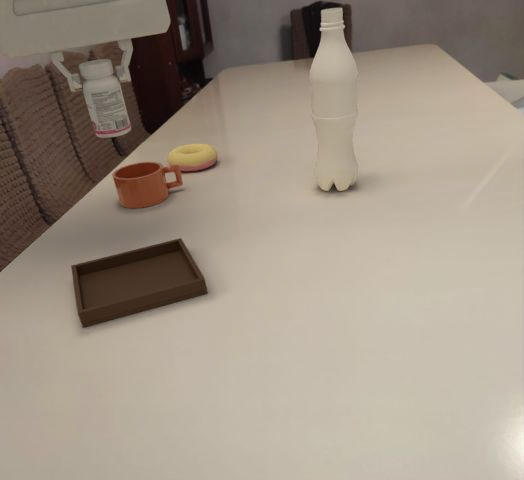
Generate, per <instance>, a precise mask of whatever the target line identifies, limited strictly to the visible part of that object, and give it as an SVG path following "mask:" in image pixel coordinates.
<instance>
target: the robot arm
mask: <svg viewBox="0 0 524 480" xmlns="http://www.w3.org/2000/svg"><path fill="white" fill-rule="evenodd" d="M170 25H171V16H170V12H169V7H168V4H167V0H0V53H1V54H2V55H4V56H5V57H6V58H7V59H10V60H13V59H18V58H24V57H30V56H31V57H32V56H35V55H42V54H47V53H49V55H50V58H51V62H52V64H53V65H54V66H55V67H56V68H57V69H58V71H59V72H60V73H62V75H63V76H64V77H65V78H66V80H67V83H68V87H69V90H70V92H71V93H76V92H80V91H83V88H82V83H81V78H80V75H79V73H78V72H77V73H75V72H74V73H71V72H70V71H69V70H68V69H67V68H66V66H65V65H64V64H63V63H62V62H64V61H65V58H64V54H63V51H65V50H71V49H77V48H83V47H89V46H95V45H100V44H101V45H102V44H107V43H112V42H117V44H118V48H119V49H120V50H121V51H122V52H123V53H122V57H121V62H120V64H119V65H115V66H114V69H115V73H116V74H117V75H116V77H117V78H118V79H119V82H120V84H123V83H129V82H132V78H131V73H130V68H129V66H130V63H131V59H132V55H133V52H134V47H133V42H132V39H135V38H142V37H147V36H153V35H158V34H159V35H160V34H165V33H167V31H168V30H169V28H170Z"/></svg>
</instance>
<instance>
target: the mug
mask: <svg viewBox="0 0 524 480" xmlns="http://www.w3.org/2000/svg"><path fill="white" fill-rule="evenodd" d="M173 172H174V175H175V180H173V181H169V182H167V178H166V174H168V173H173ZM181 172H182V171H180V167H179V165H172V166H170V165H168V166H163V164H162V163H160V162H157V161H140V162H135V163H130V164H127V165H124V166H121V167H119V168H118V169H116V170H114V172H113V173H112V174H111V175H112V180H113V183H114V186H115V190H116V194H117V197H118V200H119V203H120V205H121V206H122V207H124V208H127V209H141V208H148V207H152V206H156V205H158V204H160V203H162V202H164V201H166V200H167V199H168V198H169V195H170V194H169V189H170V190H171V189H174V188H178V187H182V186H183V184H184V182H183V178H182V173H181Z"/></svg>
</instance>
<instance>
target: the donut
mask: <svg viewBox="0 0 524 480" xmlns="http://www.w3.org/2000/svg"><path fill="white" fill-rule="evenodd" d="M217 160H218V152H217V150H216V148H215V147H214V146H212V145H210V144H208V143H189V144H184V145H180V146H177V147H174V148H172V149H171V150H170V152H169V153H168V155H167V163H168V166H172V165H179V167H180V172H196V171H197V172H198V171H202V170H205V169H207V168H209V167H212V166H214V165H215V163H217Z"/></svg>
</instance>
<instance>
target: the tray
mask: <svg viewBox="0 0 524 480" xmlns="http://www.w3.org/2000/svg"><path fill="white" fill-rule="evenodd" d="M71 273H72V281H73V288H74V296H75V305H76V310H77V316H78V318H79V320H80V323H81V325H82V328H87V327H91V326H93V325H97V324H100V323H104V322H108V321H112V320H115V319H119V318H123V317H126V316H130V315H133V314H136V313H141V312H144V311H145V312H146V311H148V310H151V309H155V308H159V307H162V306H166V305H169V304H173V303H177V302H180V301H184V300H187V299H188V300H189V299H191V298H192V299H193V298H195V297H198V296H199V297H200V296H203V295H207V294H208V288H207V283H206V279H205V277H204V275H203V273H202V271H201V270H200V268H199V266H198V265H197V262H196V261H195V259H194V257H193V256H192V254H191V253H190V251H189V249H188V247H187V245H186V244H185V242H184V240H183V239H182V238H181V237H180V238H179V237H178V238H176V239H172V240H167V241H163V242H159V243H156V244H150V245H148V246H144V247H139V248H135V249H132V250H128V251H124V252H120V253H116V254H112V255H108V256H104V257H100V258H95V259H92V260H88V261H84V262H80V263H76V264H72V265H71Z"/></svg>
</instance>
